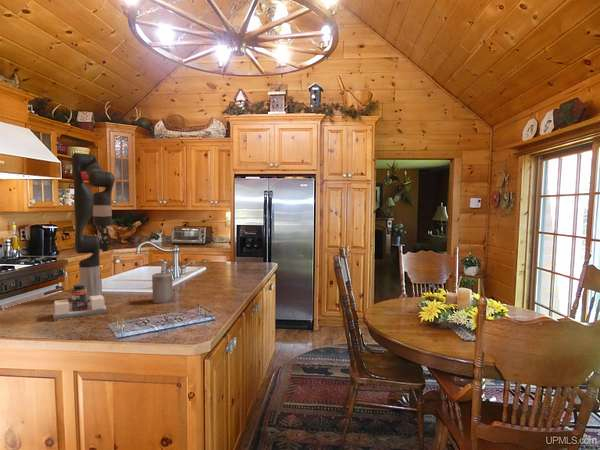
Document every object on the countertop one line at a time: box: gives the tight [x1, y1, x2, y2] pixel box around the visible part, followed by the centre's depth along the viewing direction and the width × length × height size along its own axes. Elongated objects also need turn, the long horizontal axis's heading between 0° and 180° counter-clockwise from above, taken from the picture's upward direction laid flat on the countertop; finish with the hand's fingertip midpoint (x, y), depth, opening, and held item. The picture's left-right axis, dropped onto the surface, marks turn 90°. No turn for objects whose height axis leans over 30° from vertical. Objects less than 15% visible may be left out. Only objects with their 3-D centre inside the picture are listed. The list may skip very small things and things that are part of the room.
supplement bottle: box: [71, 283, 88, 311], centre depth 160 cm, size 6×6×11 cm
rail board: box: [52, 294, 108, 320], centre depth 160 cm, size 20×11×6 cm, turn 126°
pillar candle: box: [151, 271, 174, 304], centre depth 183 cm, size 10×10×15 cm
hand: (103, 250), depth 165 cm, fingers open, 8 cm apart
